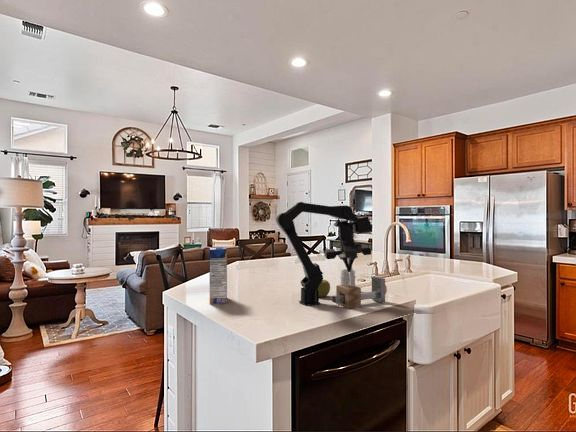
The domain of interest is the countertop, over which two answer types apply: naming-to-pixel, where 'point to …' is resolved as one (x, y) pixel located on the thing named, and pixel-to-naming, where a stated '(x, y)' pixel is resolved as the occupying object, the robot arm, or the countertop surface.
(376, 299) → the hook rod
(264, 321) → the countertop surface
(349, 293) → the block
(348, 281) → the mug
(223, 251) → the beverage box
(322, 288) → the apple
